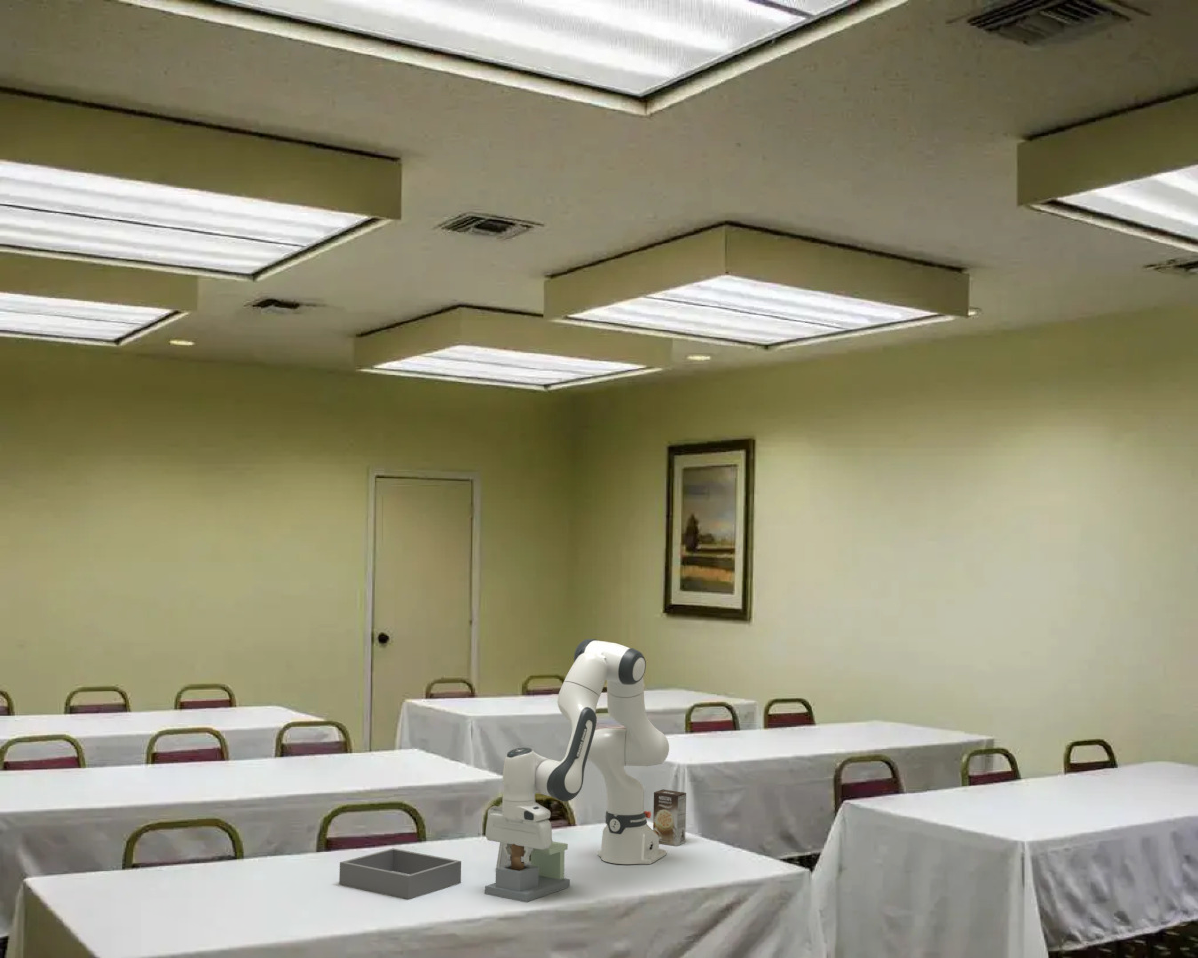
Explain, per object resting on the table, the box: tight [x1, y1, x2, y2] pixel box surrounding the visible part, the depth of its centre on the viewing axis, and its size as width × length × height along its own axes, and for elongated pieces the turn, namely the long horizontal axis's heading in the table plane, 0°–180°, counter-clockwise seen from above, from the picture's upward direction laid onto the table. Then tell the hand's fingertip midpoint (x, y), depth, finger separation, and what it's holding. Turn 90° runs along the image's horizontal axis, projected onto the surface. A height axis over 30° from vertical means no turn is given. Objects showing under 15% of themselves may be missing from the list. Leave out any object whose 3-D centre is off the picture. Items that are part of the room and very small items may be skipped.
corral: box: [338, 847, 462, 900], centre depth 355 cm, size 21×25×6 cm
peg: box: [511, 844, 525, 871], centre depth 347 cm, size 4×4×12 cm
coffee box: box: [652, 788, 687, 847], centre depth 412 cm, size 9×6×16 cm
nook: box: [484, 840, 571, 903], centre depth 351 cm, size 20×14×12 cm
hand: (517, 861), depth 347 cm, fingers closed on peg, 4 cm apart
